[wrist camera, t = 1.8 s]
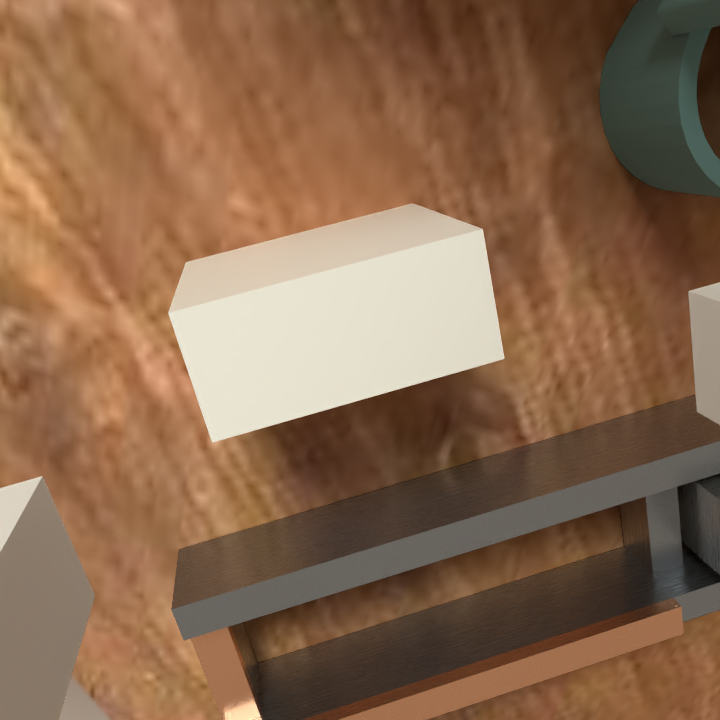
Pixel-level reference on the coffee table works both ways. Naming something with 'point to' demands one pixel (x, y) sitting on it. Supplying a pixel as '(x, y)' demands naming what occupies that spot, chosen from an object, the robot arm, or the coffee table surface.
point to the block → (334, 316)
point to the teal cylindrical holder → (660, 95)
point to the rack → (479, 611)
